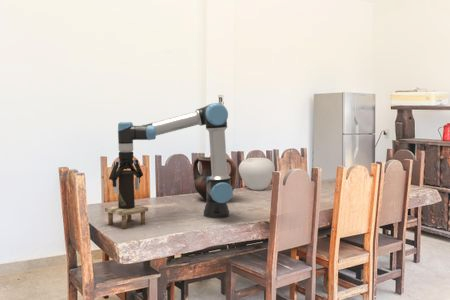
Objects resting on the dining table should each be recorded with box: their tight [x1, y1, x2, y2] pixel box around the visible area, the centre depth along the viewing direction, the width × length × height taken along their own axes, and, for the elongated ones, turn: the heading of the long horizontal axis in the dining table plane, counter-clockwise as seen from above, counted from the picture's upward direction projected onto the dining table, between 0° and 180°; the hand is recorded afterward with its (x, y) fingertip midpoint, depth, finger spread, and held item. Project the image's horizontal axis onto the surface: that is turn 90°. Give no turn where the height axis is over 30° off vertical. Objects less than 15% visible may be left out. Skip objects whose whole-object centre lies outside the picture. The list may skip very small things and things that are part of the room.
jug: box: [192, 156, 237, 203], centre depth 301 cm, size 32×28×30 cm
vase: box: [238, 157, 276, 191], centre depth 347 cm, size 28×27×25 cm
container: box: [117, 169, 136, 209], centre depth 232 cm, size 9×9×20 cm
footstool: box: [104, 204, 149, 230], centre depth 234 cm, size 16×16×9 cm
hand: (126, 191), depth 233 cm, fingers open, 13 cm apart
